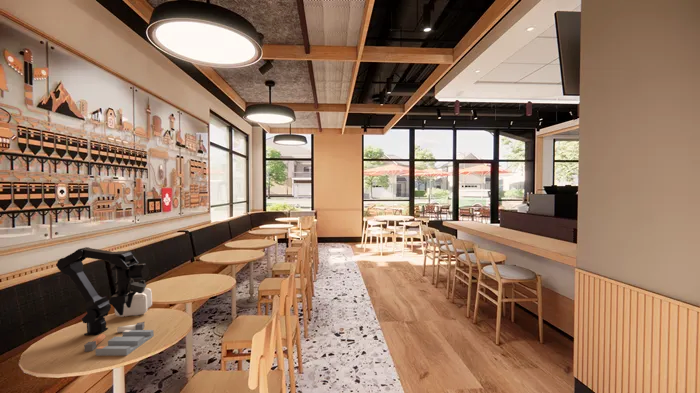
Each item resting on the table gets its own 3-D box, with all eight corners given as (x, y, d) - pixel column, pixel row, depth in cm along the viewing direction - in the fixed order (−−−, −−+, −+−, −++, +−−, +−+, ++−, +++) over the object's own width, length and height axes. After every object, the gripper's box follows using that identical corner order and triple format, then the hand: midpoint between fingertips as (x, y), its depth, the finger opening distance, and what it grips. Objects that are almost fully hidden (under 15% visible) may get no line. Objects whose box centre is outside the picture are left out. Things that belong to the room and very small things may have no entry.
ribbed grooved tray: (95, 355, 123) (95, 348, 123) (125, 336, 139) (125, 329, 139) (126, 355, 123) (126, 348, 123) (153, 335, 139) (153, 329, 139)
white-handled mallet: (117, 333, 142) (116, 327, 142) (119, 331, 144) (119, 325, 144) (142, 330, 145) (142, 324, 145) (144, 327, 148) (144, 321, 148)
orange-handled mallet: (98, 339, 136) (98, 333, 136) (105, 339, 137) (105, 332, 137) (84, 351, 126) (84, 345, 126) (92, 350, 127) (92, 344, 127)
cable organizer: (154, 307, 173) (153, 287, 172) (145, 315, 162) (144, 293, 162) (124, 310, 170) (123, 289, 169) (113, 318, 159) (112, 296, 159)
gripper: (136, 282, 137) (138, 316, 137) (149, 271, 155) (151, 301, 155) (107, 285, 134) (108, 320, 134) (124, 273, 151) (125, 304, 152)
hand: (125, 311), depth 144 cm, fingers open, 9 cm apart
